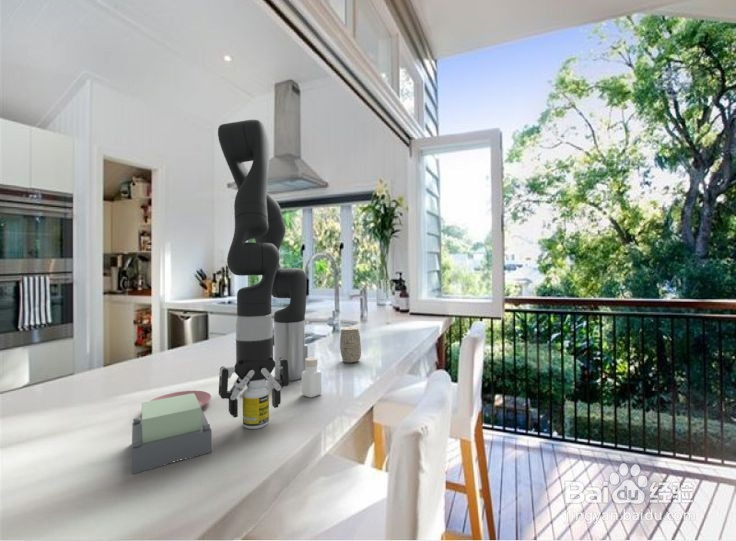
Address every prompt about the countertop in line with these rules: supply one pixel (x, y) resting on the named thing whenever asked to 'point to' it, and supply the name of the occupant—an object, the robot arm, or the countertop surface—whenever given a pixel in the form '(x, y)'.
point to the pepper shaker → (311, 378)
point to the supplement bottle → (256, 404)
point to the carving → (350, 344)
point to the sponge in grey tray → (169, 432)
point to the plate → (200, 395)
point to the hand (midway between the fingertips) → (255, 411)
